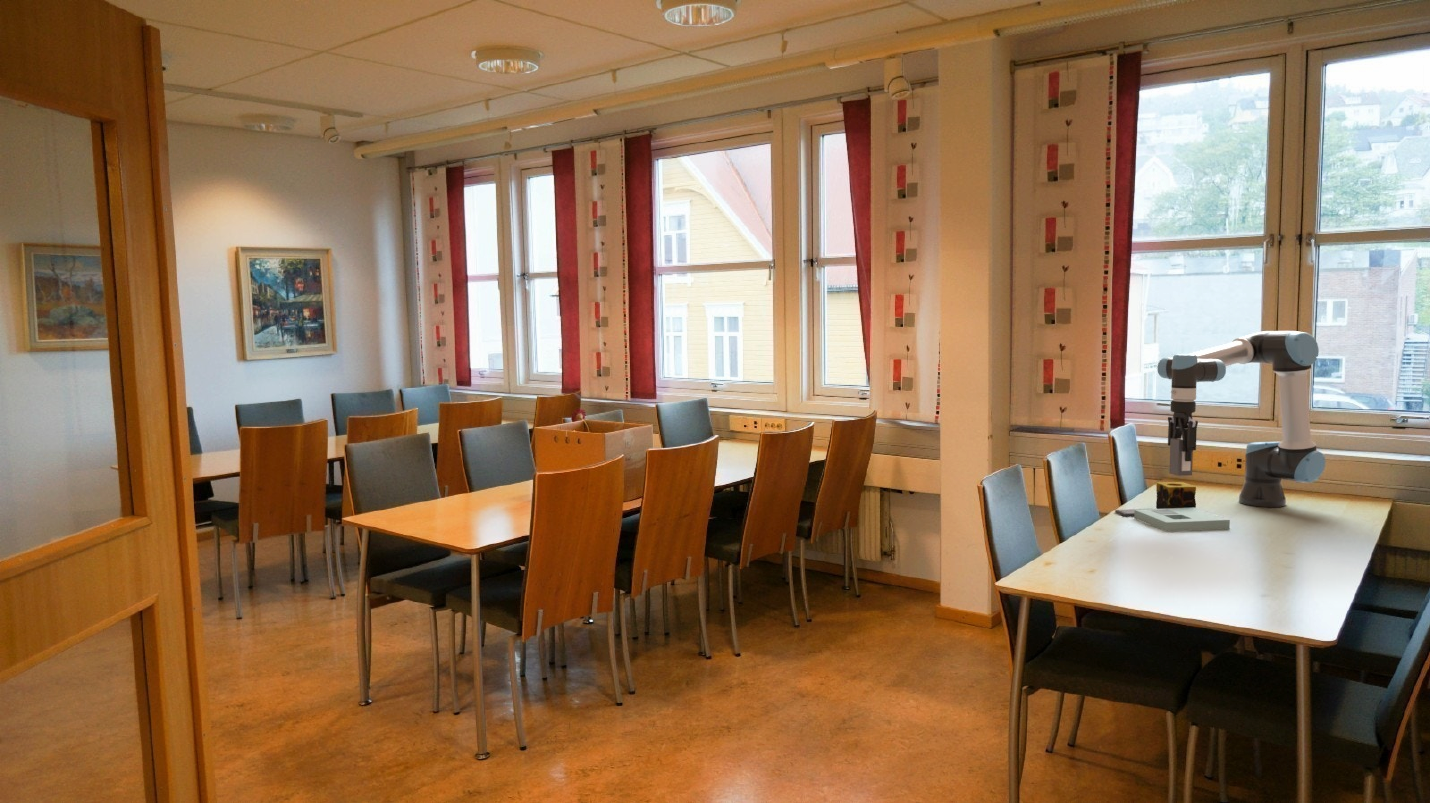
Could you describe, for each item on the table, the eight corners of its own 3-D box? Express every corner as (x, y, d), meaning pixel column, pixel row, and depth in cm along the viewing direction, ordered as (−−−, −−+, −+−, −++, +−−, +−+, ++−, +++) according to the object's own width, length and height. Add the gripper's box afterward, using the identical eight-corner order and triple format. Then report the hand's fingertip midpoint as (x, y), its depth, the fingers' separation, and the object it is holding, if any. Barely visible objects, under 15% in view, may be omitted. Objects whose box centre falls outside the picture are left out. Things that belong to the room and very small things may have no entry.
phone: (1152, 511, 344) (1152, 508, 344) (1163, 515, 337) (1163, 512, 337) (1115, 512, 343) (1115, 509, 343) (1125, 516, 336) (1125, 513, 336)
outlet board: (1193, 515, 336) (1194, 507, 335) (1229, 528, 316) (1229, 519, 316) (1134, 518, 334) (1134, 509, 333) (1166, 531, 314) (1166, 522, 314)
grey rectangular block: (1183, 472, 323) (1184, 437, 321) (1192, 475, 318) (1193, 439, 316) (1169, 473, 322) (1170, 437, 321) (1177, 475, 317) (1179, 439, 316)
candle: (1196, 514, 338) (1197, 486, 337) (1167, 514, 339) (1168, 487, 338) (1183, 508, 348) (1183, 481, 347) (1155, 508, 349) (1156, 481, 348)
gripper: (1157, 398, 326) (1155, 465, 328) (1188, 403, 308) (1185, 474, 310) (1178, 397, 327) (1175, 464, 329) (1210, 402, 309) (1207, 473, 311)
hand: (1180, 469), depth 320 cm, fingers closed on grey rectangular block, 5 cm apart
